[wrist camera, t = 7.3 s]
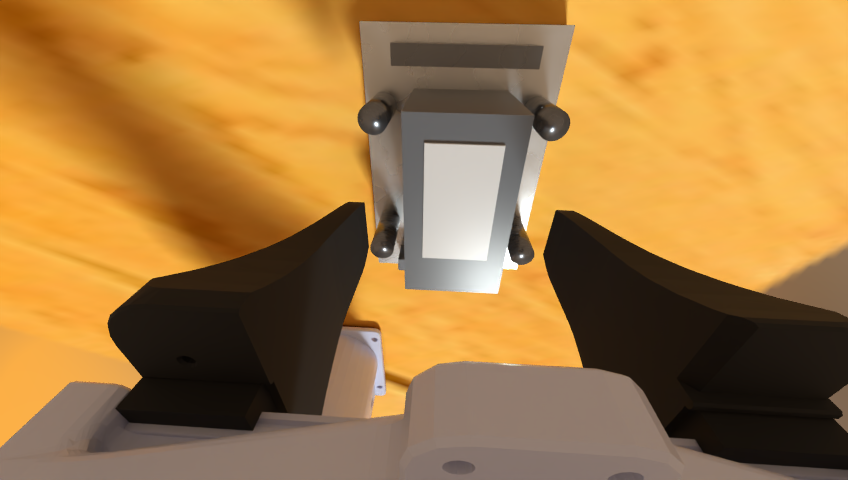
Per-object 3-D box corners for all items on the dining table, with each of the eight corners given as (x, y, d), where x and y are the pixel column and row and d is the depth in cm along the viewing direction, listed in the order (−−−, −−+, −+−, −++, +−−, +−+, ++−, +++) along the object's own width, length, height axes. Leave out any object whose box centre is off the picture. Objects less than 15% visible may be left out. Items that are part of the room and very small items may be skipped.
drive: (486, 235, 19) (498, 295, 15) (414, 232, 19) (405, 290, 15) (508, 91, 14) (535, 116, 10) (413, 88, 14) (400, 112, 10)
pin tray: (513, 259, 21) (526, 302, 18) (381, 253, 21) (369, 294, 18) (567, 25, 14) (606, 23, 10) (364, 21, 14) (339, 19, 11)
